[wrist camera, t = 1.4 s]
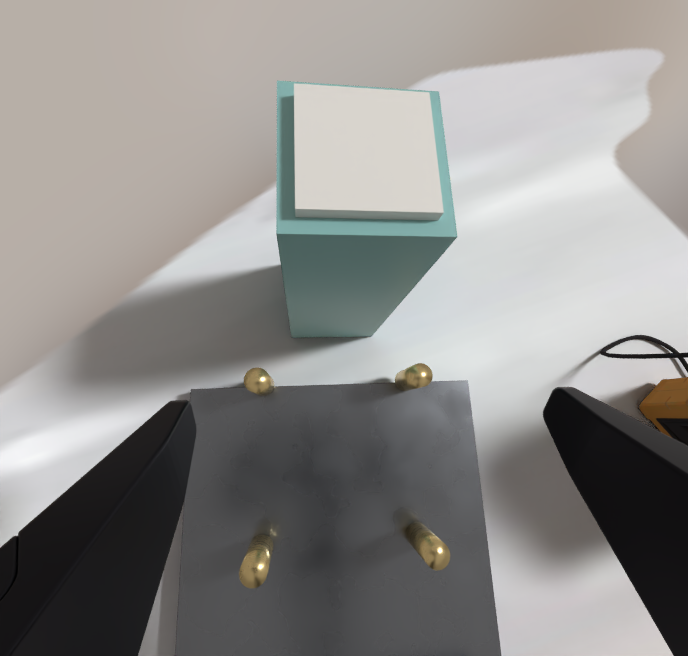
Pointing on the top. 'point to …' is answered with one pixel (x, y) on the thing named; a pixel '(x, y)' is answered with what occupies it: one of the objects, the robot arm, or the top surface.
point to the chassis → (335, 522)
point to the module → (358, 202)
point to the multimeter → (663, 394)
